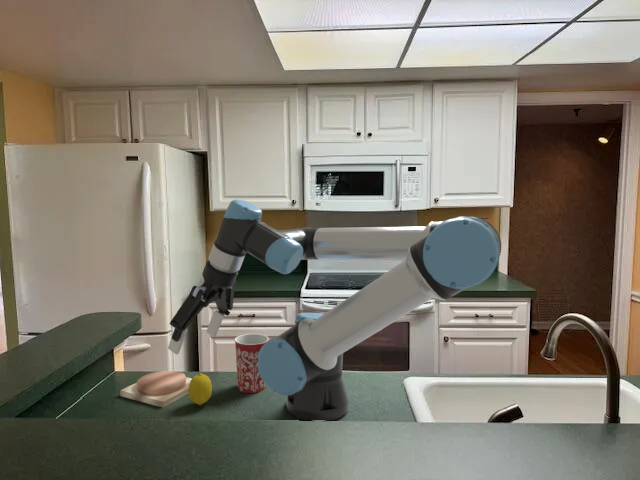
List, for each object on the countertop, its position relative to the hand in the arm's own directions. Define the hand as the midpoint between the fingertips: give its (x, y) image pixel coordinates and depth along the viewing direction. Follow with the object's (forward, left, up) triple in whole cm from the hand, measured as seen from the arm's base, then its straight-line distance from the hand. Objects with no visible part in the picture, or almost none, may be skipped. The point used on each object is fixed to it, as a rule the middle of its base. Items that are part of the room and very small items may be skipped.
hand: (193, 342), depth 105 cm
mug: (-7, -17, -16) cm, 24 cm away
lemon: (-1, -1, -16) cm, 16 cm away
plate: (+13, -3, -16) cm, 20 cm away
